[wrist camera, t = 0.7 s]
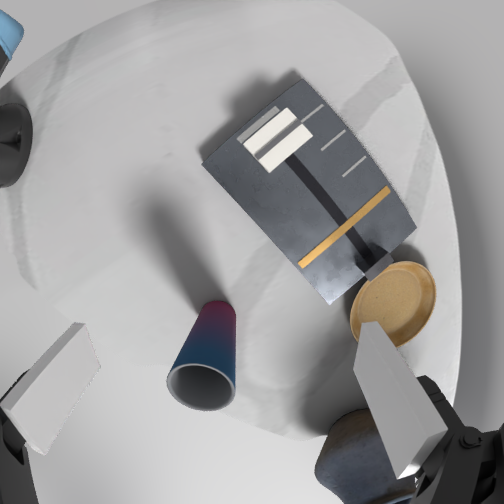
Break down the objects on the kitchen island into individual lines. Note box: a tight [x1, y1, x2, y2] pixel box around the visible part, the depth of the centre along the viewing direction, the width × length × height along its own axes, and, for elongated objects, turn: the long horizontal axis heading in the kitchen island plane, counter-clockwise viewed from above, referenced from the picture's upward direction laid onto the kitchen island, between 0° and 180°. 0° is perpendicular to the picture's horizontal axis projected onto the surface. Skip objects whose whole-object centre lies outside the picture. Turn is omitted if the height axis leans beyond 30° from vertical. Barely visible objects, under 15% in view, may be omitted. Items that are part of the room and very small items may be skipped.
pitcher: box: [315, 409, 425, 504], centre depth 34 cm, size 21×22×25 cm
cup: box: [167, 301, 236, 411], centre depth 31 cm, size 7×7×15 cm
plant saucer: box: [350, 261, 436, 348], centre depth 37 cm, size 15×15×3 cm
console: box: [201, 79, 417, 305], centre depth 31 cm, size 24×16×5 cm, turn 42°
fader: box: [243, 108, 313, 173], centre depth 28 cm, size 4×6×4 cm, turn 132°
